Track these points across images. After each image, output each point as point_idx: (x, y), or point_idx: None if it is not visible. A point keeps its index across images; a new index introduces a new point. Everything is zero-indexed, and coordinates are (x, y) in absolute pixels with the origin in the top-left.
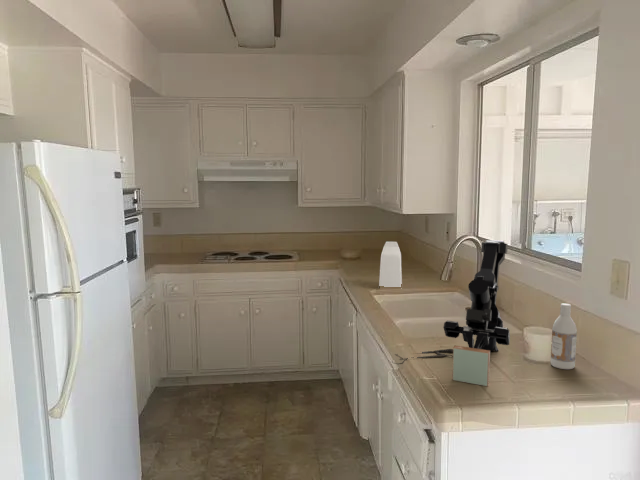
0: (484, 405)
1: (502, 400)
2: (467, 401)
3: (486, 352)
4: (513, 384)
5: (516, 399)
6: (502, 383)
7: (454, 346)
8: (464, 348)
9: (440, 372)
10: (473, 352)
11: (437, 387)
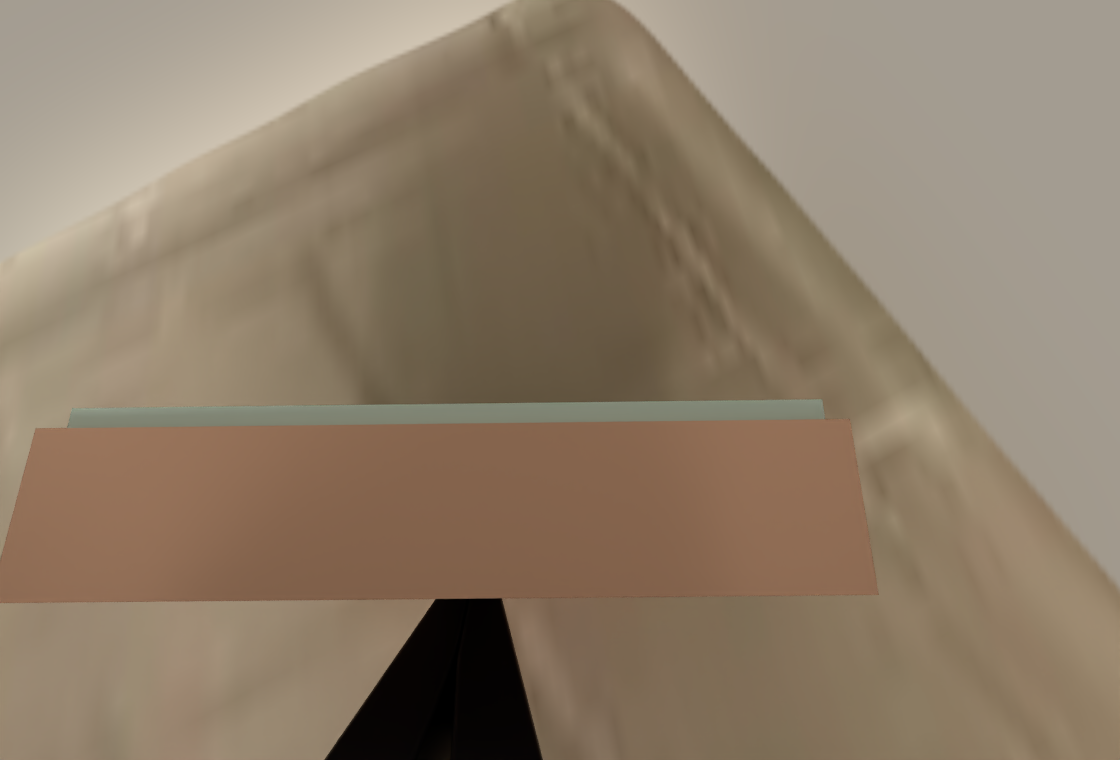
0: (350, 120)
1: (225, 255)
2: (471, 128)
3: (91, 425)
4: (108, 668)
5: (116, 323)
6: (215, 640)
7: (850, 506)
8: (595, 465)
9: (852, 641)
10: (388, 408)
11: (744, 261)
